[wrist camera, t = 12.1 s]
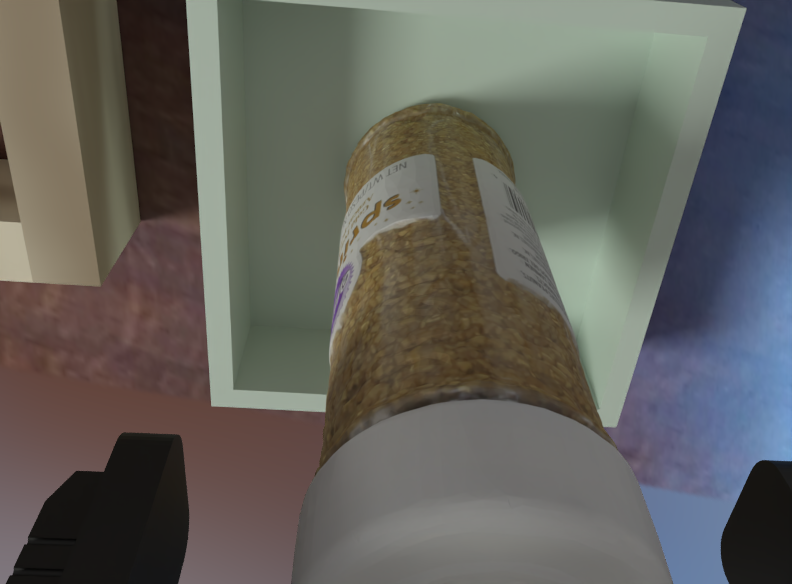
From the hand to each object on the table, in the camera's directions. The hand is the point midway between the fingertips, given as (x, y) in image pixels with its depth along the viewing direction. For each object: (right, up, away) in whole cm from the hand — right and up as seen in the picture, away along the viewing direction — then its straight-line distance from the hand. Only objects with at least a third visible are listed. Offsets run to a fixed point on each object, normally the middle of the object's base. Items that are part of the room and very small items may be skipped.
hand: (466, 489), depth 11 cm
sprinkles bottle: (0, +6, +9) cm, 11 cm away
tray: (0, +6, +10) cm, 12 cm away
